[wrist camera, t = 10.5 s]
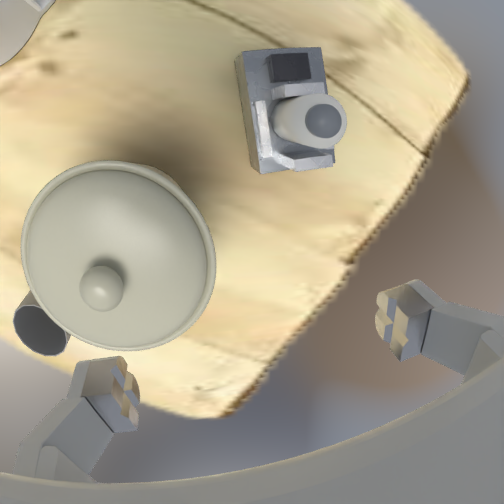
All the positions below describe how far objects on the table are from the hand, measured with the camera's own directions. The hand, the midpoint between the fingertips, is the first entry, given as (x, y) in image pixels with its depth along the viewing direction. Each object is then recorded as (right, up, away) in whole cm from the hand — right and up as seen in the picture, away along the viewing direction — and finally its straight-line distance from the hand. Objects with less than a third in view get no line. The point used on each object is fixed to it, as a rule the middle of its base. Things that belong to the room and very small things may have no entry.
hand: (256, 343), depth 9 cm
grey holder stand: (+3, +21, +28) cm, 35 cm away
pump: (+4, +17, +23) cm, 29 cm away
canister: (-15, +8, +30) cm, 35 cm away
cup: (-29, -3, +33) cm, 44 cm away
